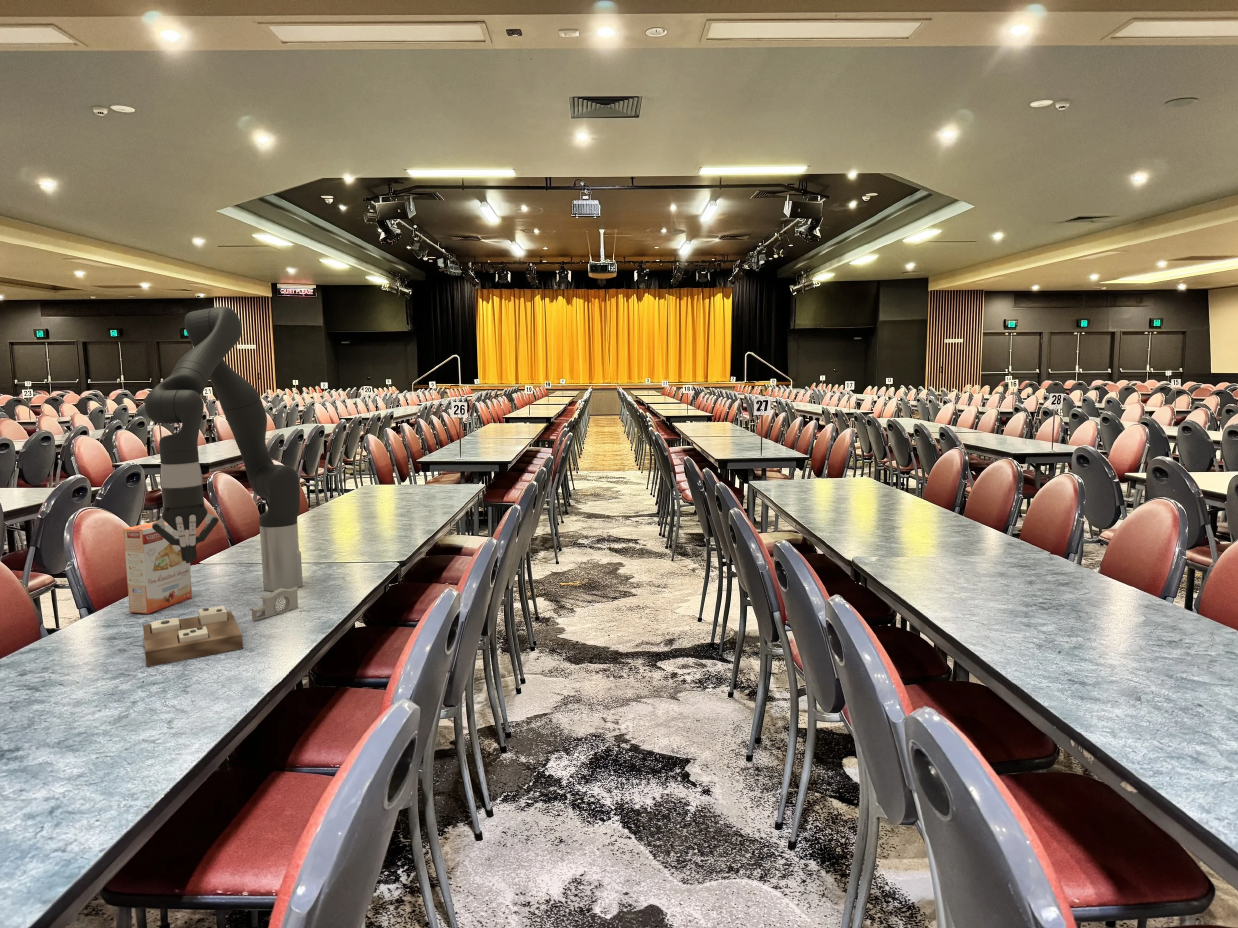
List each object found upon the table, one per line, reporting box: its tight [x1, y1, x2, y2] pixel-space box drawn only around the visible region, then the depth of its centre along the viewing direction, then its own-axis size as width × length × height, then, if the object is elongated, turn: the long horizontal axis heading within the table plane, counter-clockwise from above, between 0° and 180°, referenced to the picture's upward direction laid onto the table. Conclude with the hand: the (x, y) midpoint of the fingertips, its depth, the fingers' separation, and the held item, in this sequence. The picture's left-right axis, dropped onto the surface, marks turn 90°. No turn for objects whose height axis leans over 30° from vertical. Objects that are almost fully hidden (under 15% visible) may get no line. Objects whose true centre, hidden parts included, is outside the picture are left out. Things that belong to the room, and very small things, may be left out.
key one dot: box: [150, 617, 180, 633], centre depth 157 cm, size 5×5×4 cm
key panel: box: [142, 610, 244, 668], centre depth 156 cm, size 17×19×3 cm
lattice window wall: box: [250, 587, 299, 622], centre depth 175 cm, size 12×2×6 cm, turn 151°
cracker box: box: [123, 520, 193, 615], centre depth 181 cm, size 14×6×21 cm, turn 168°
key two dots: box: [198, 605, 227, 625], centre depth 162 cm, size 5×5×4 cm
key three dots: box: [178, 626, 208, 643], centre depth 151 cm, size 5×5×4 cm
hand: (189, 562), depth 159 cm, fingers closed
